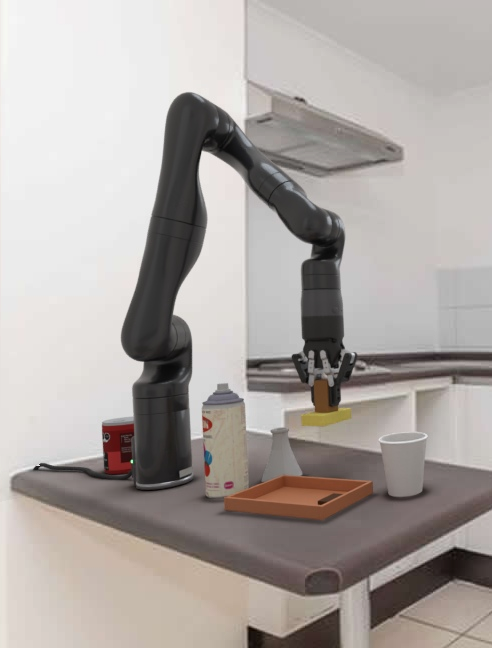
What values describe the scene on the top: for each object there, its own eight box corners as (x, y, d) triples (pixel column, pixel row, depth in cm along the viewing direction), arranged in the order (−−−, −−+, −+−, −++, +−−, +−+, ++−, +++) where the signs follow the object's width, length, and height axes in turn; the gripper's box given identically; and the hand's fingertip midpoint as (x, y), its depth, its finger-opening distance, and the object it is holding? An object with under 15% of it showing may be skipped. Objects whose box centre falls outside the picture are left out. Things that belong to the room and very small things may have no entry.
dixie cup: (425, 484, 101) (423, 429, 101) (434, 497, 93) (431, 438, 93) (378, 490, 98) (376, 434, 98) (383, 504, 90) (380, 444, 90)
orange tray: (224, 512, 89) (223, 497, 89) (284, 488, 102) (283, 474, 102) (322, 523, 83) (322, 506, 83) (373, 495, 96) (372, 481, 96)
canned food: (115, 466, 123) (113, 417, 123) (155, 463, 124) (153, 415, 124) (95, 476, 115) (93, 423, 115) (138, 472, 117) (135, 421, 116)
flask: (287, 486, 103) (285, 432, 103) (253, 485, 105) (250, 432, 104) (309, 474, 110) (307, 425, 110) (277, 474, 112) (275, 425, 111)
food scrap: (317, 507, 89) (317, 500, 89) (333, 499, 93) (333, 493, 93) (338, 508, 88) (338, 502, 88) (353, 500, 91) (353, 494, 91)
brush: (301, 425, 101) (299, 382, 101) (330, 417, 109) (328, 377, 109) (323, 426, 100) (322, 382, 99) (351, 418, 107) (349, 377, 107)
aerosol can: (205, 494, 100) (199, 383, 100) (246, 486, 104) (241, 380, 103) (207, 504, 94) (201, 387, 94) (251, 495, 98) (246, 383, 97)
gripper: (366, 312, 105) (369, 403, 105) (305, 315, 110) (309, 402, 110) (340, 313, 98) (344, 410, 98) (277, 315, 103) (281, 408, 103)
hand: (326, 405), depth 104 cm, fingers closed on brush, 3 cm apart
